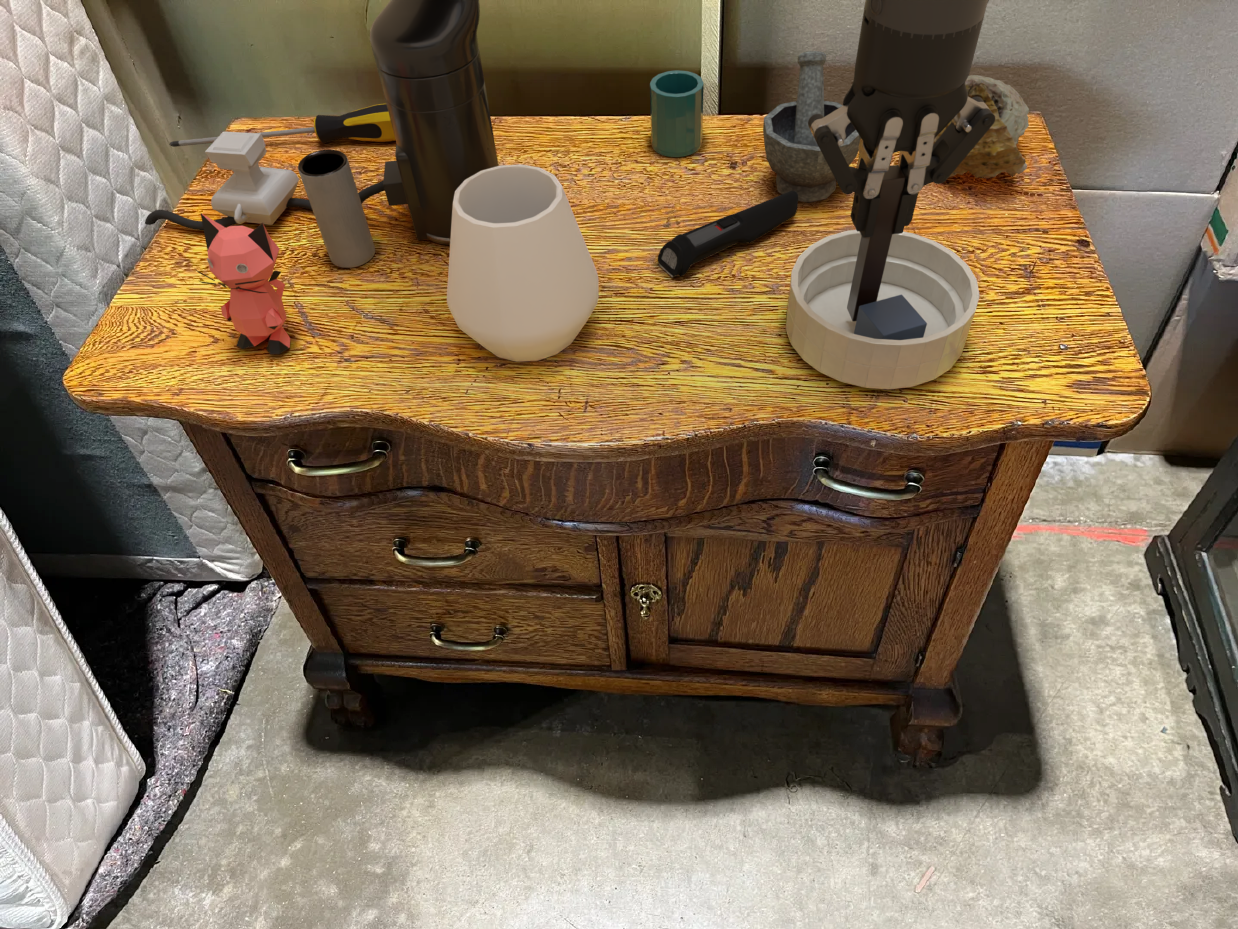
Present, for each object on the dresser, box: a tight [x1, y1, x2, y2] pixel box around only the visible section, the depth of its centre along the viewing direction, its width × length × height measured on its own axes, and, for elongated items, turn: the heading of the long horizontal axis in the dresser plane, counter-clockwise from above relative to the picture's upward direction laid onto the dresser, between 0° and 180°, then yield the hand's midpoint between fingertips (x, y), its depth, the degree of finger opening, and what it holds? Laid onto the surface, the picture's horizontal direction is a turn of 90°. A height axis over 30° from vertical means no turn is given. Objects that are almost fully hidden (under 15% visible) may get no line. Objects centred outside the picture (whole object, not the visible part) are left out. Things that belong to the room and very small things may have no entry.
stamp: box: [204, 131, 300, 226], centre depth 93 cm, size 9×7×8 cm
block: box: [854, 294, 927, 340], centre depth 76 cm, size 4×4×4 cm
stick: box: [847, 164, 905, 321], centre depth 73 cm, size 2×2×14 cm
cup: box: [446, 163, 600, 363], centre depth 77 cm, size 13×13×14 cm
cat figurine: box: [194, 212, 291, 355], centre depth 79 cm, size 7×7×12 cm
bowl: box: [785, 229, 980, 390], centre depth 77 cm, size 15×15×6 cm
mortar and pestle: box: [762, 50, 861, 203], centre depth 90 cm, size 11×9×12 cm
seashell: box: [933, 74, 1030, 179], centre depth 94 cm, size 11×14×10 cm
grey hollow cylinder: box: [297, 149, 376, 269], centre depth 87 cm, size 4×4×10 cm
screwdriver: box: [169, 103, 396, 148], centre depth 104 cm, size 3×3×30 cm
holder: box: [649, 69, 705, 158], centre depth 98 cm, size 6×6×7 cm
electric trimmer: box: [657, 191, 799, 278], centre depth 88 cm, size 4×16×3 cm, turn 122°
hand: (878, 228), depth 71 cm, fingers closed on stick, 2 cm apart
